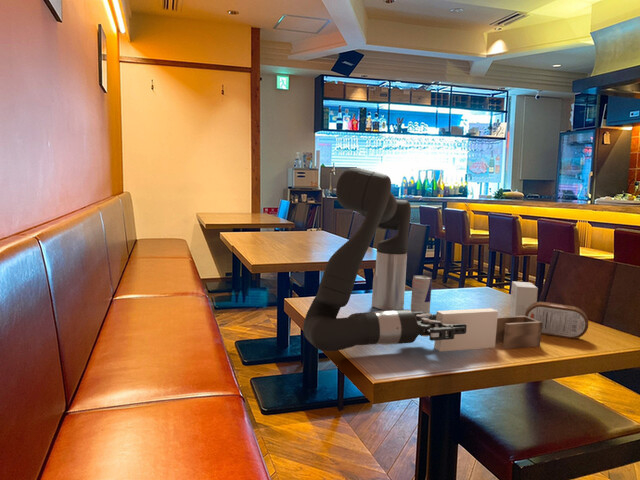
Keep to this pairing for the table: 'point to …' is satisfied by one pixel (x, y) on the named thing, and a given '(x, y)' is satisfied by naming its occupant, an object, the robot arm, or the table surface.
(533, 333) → the slot box
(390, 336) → the robot arm
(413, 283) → the energy drink
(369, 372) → the table surface
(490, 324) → the white rectangular block
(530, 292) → the small box
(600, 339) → the table surface
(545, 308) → the tin
